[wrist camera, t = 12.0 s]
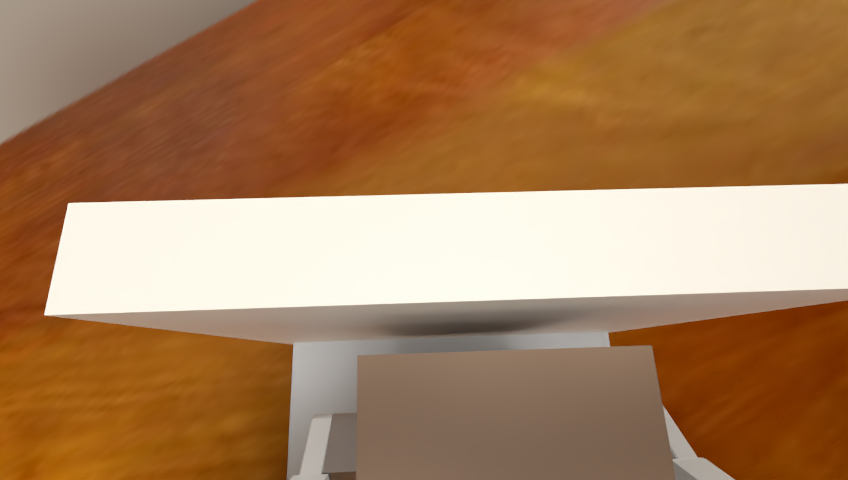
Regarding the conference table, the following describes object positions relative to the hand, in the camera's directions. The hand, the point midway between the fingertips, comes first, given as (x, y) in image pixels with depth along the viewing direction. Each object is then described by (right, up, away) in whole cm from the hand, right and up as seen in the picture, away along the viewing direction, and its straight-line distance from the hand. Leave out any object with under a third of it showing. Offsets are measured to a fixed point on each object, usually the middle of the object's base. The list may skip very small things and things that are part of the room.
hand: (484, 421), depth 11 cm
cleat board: (0, 0, +14) cm, 14 cm away
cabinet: (0, -2, +5) cm, 6 cm away
